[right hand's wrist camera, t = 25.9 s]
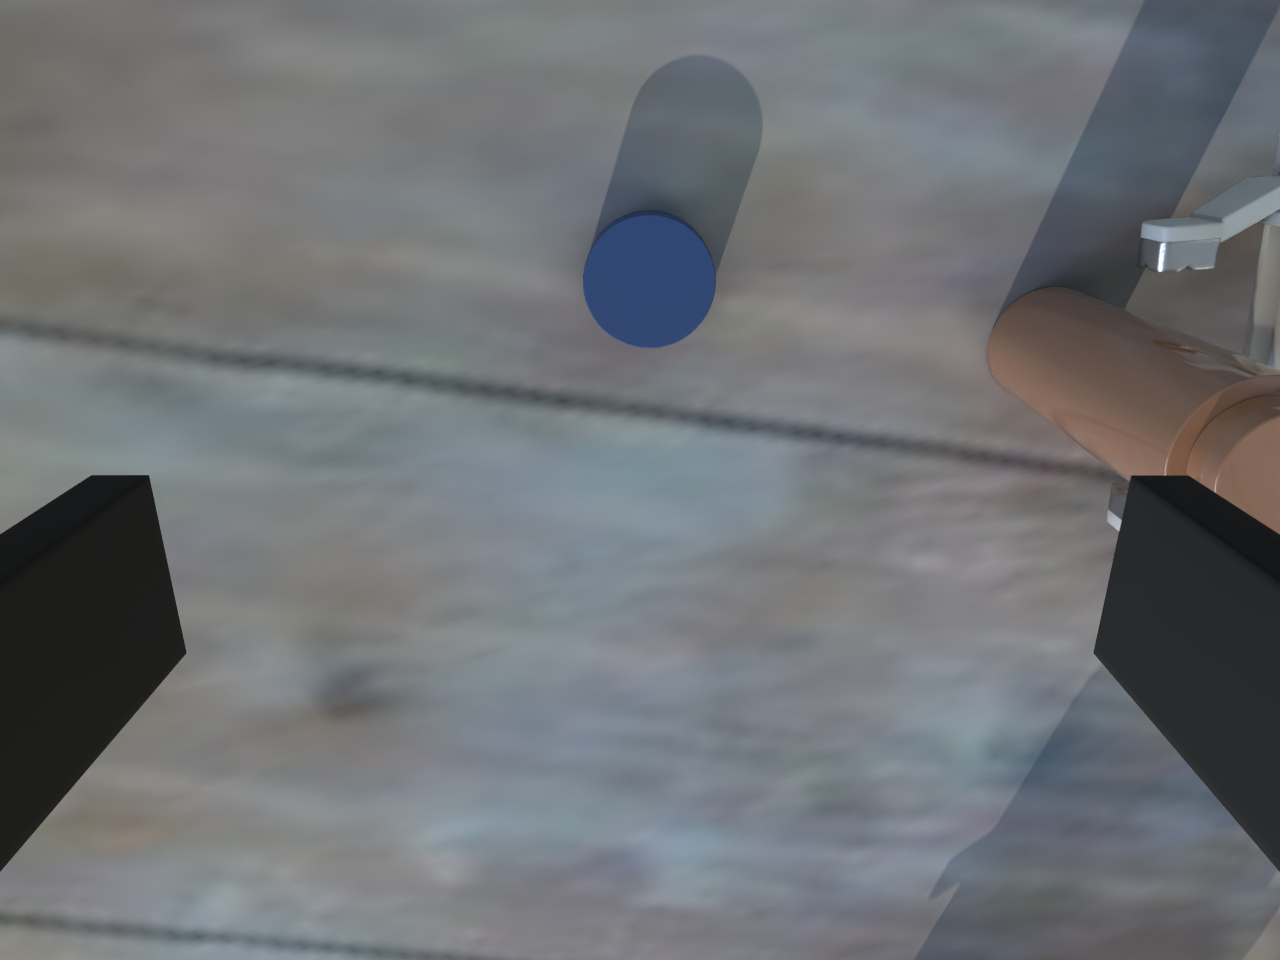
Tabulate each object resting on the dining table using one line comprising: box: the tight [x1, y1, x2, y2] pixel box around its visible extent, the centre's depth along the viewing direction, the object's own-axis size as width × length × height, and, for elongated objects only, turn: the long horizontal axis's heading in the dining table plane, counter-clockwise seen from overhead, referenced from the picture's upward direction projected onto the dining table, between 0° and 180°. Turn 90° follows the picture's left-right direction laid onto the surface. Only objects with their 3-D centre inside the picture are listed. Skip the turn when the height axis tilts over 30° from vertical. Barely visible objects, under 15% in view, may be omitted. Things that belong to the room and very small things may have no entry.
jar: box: [988, 287, 1280, 534], centre depth 31 cm, size 5×5×15 cm
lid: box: [583, 211, 716, 348], centre depth 36 cm, size 5×5×2 cm
